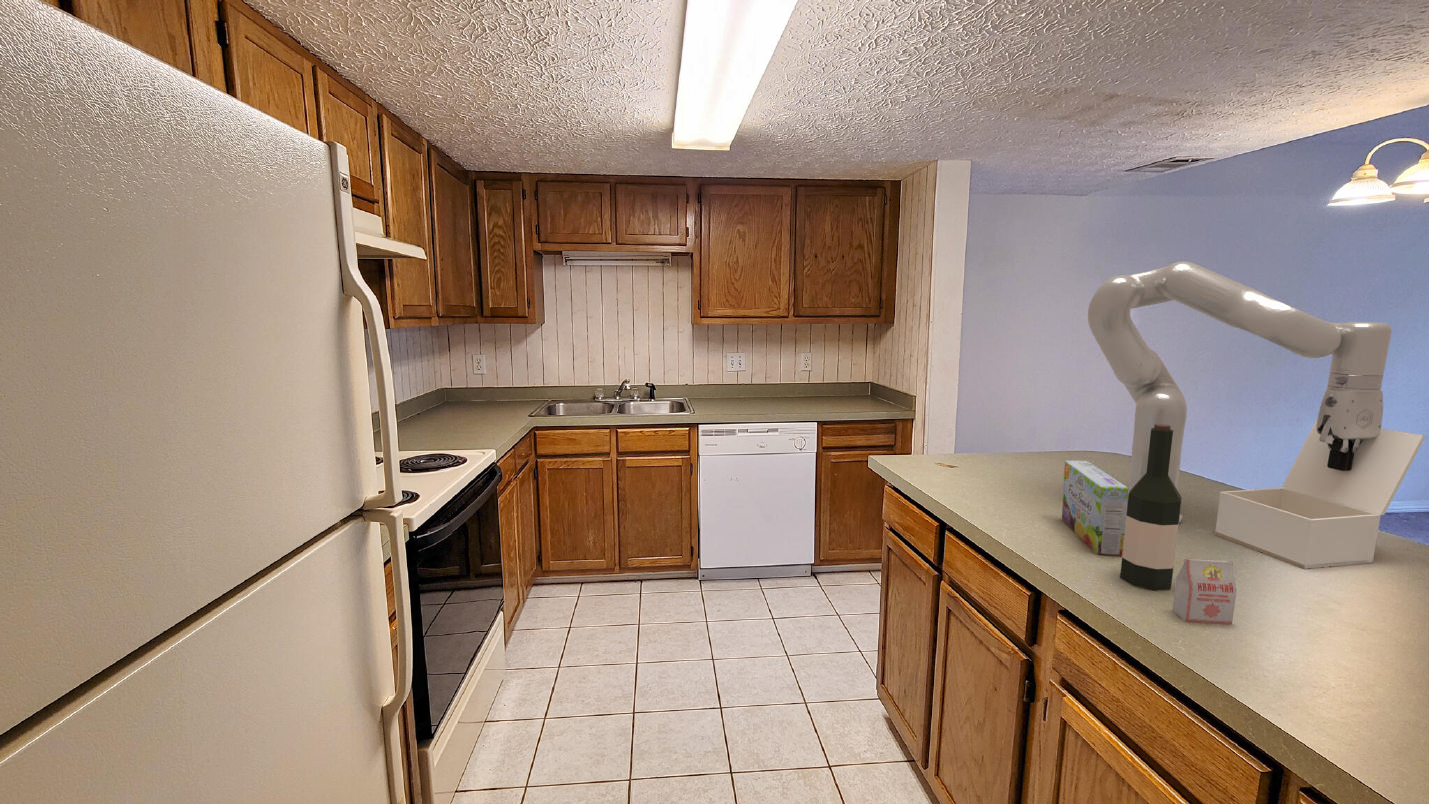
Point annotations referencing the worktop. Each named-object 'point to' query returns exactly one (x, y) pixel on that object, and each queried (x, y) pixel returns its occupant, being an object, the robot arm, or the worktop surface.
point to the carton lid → (1356, 470)
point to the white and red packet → (1205, 591)
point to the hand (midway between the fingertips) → (1338, 469)
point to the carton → (1298, 527)
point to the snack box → (1095, 507)
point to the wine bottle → (1152, 519)
